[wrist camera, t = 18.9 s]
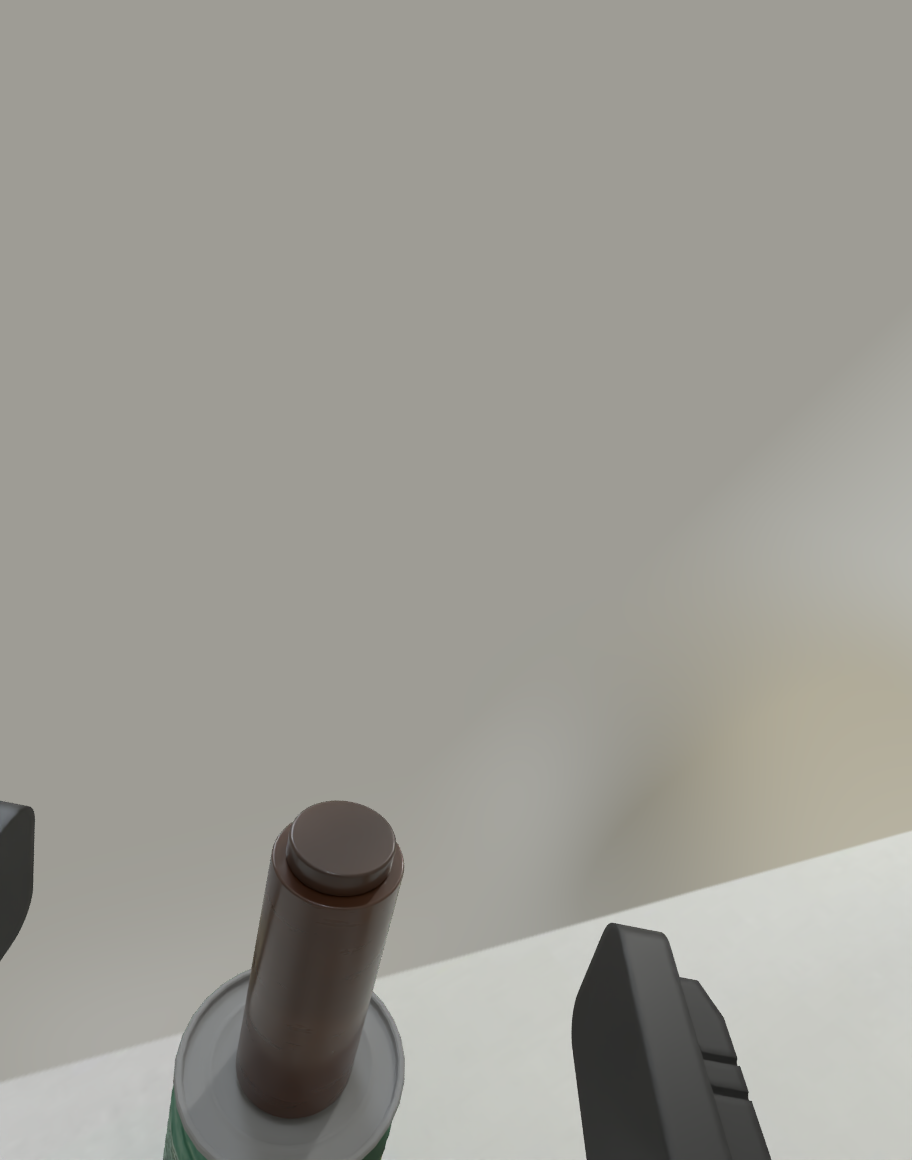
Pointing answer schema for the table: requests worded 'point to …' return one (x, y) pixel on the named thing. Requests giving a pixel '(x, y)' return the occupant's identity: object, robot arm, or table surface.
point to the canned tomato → (257, 1139)
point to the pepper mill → (317, 956)
